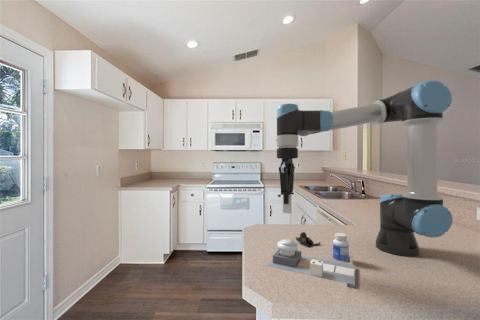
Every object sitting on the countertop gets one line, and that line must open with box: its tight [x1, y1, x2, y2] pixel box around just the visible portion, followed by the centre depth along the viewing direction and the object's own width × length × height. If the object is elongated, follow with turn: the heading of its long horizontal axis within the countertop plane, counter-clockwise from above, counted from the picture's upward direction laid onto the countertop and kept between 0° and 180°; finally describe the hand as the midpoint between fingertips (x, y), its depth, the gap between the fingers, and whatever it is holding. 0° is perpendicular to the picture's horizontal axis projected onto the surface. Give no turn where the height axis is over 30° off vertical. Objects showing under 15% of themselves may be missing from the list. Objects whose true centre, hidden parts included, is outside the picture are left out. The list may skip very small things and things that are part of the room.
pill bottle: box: [332, 232, 350, 262], centre depth 87 cm, size 6×5×10 cm
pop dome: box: [276, 238, 299, 258], centre depth 85 cm, size 7×7×5 cm
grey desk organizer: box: [267, 249, 356, 289], centre depth 80 cm, size 27×14×5 cm, turn 63°
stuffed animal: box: [295, 231, 321, 249], centre depth 103 cm, size 12×10×12 cm
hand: (287, 212), depth 85 cm, fingers closed
